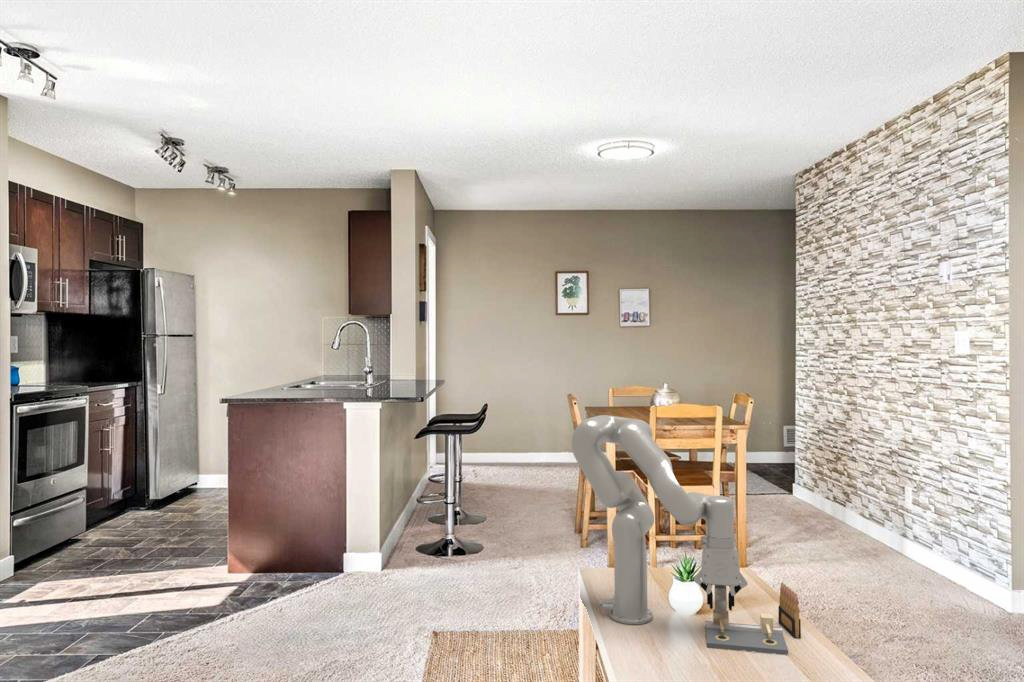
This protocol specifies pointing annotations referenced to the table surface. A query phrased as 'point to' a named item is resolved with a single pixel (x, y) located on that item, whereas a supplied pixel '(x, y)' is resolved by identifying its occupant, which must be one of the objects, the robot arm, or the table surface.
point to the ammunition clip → (789, 611)
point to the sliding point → (720, 608)
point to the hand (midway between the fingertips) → (720, 607)
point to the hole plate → (748, 636)
